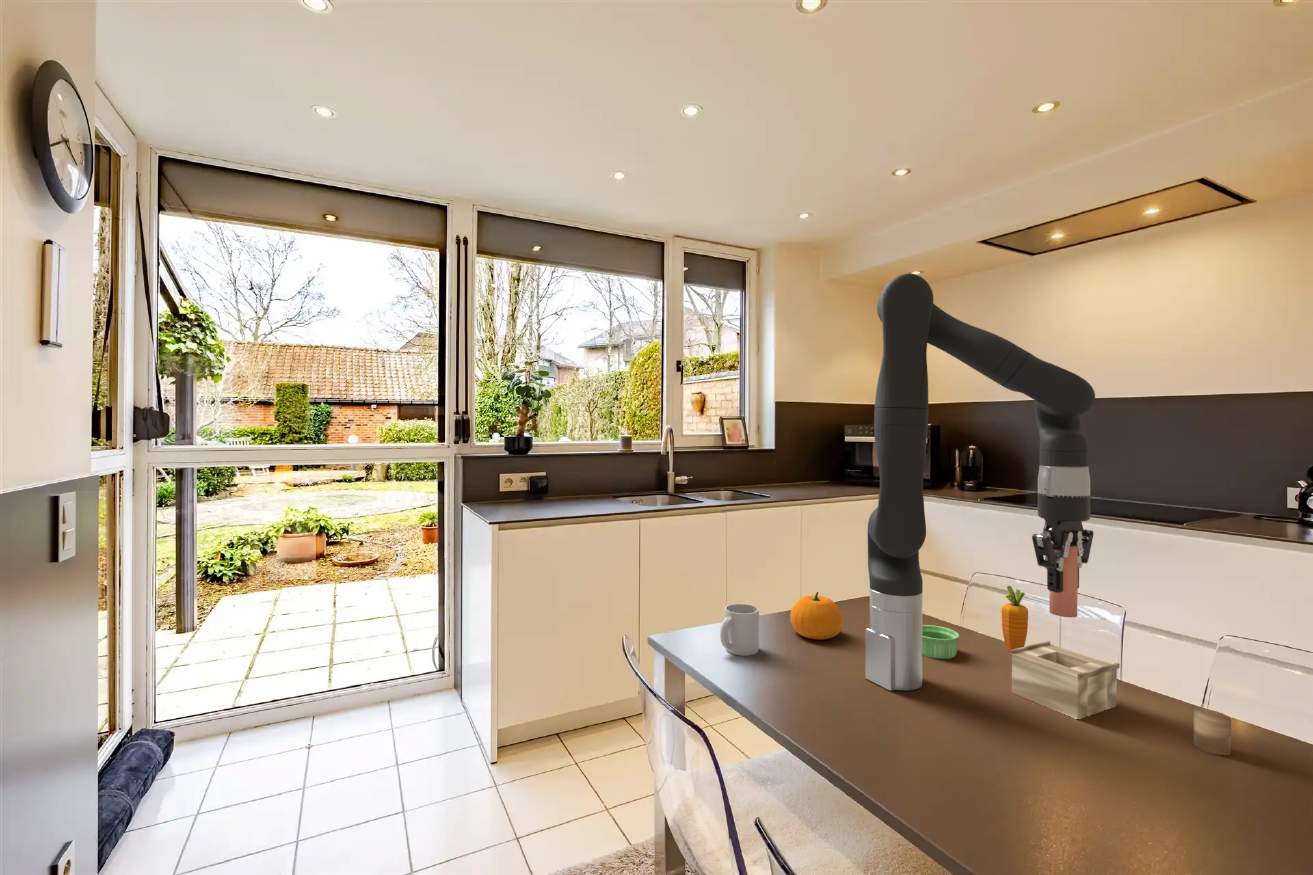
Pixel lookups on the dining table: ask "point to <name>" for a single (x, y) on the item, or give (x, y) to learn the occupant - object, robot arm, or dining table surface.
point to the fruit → (816, 617)
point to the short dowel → (1212, 731)
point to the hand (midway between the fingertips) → (1063, 589)
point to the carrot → (1014, 621)
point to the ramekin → (939, 642)
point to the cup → (740, 629)
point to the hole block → (1064, 679)
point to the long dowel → (1067, 587)
